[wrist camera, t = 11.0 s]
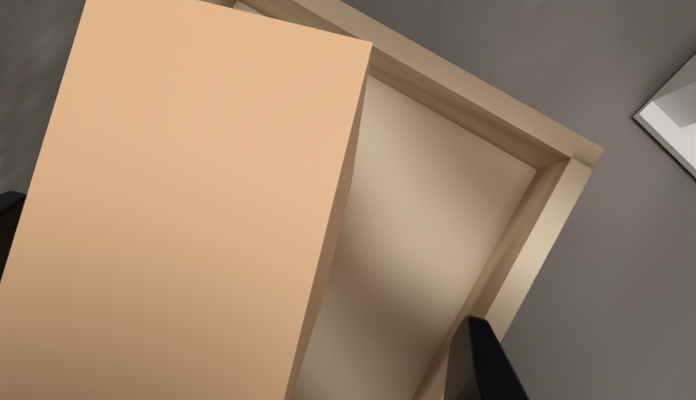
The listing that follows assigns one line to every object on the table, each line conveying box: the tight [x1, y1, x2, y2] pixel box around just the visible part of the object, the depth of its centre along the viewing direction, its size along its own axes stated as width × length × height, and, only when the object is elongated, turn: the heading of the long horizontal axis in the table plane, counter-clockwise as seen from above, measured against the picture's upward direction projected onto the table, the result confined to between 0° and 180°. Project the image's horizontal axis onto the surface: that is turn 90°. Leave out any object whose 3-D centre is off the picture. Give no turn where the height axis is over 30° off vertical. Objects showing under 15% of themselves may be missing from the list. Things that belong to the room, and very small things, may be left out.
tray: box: [199, 0, 604, 400], centre depth 17 cm, size 15×15×3 cm
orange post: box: [0, 0, 373, 400], centre depth 11 cm, size 4×3×13 cm, turn 166°
